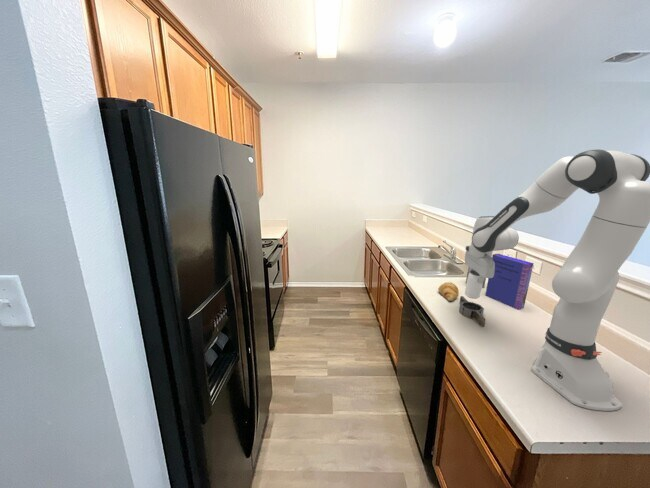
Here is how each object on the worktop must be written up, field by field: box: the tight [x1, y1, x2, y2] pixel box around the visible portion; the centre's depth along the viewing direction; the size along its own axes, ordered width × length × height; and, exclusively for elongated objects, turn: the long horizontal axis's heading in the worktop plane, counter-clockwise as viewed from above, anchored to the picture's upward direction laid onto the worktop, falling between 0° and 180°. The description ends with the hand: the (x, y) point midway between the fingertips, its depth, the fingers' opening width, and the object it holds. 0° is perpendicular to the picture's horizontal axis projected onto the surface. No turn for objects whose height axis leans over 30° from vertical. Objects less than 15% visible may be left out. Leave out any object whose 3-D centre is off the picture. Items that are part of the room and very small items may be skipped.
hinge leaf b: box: [459, 295, 485, 315], centre depth 132 cm, size 16×10×4 cm, turn 177°
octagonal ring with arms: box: [458, 306, 486, 328], centre depth 126 cm, size 16×10×4 cm, turn 177°
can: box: [464, 270, 484, 300], centre depth 127 cm, size 6×6×12 cm
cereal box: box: [484, 253, 534, 311], centre depth 140 cm, size 17×5×24 cm, turn 24°
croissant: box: [438, 281, 459, 302], centre depth 150 cm, size 21×10×8 cm, turn 164°
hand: (476, 279), depth 126 cm, fingers closed on can, 6 cm apart
